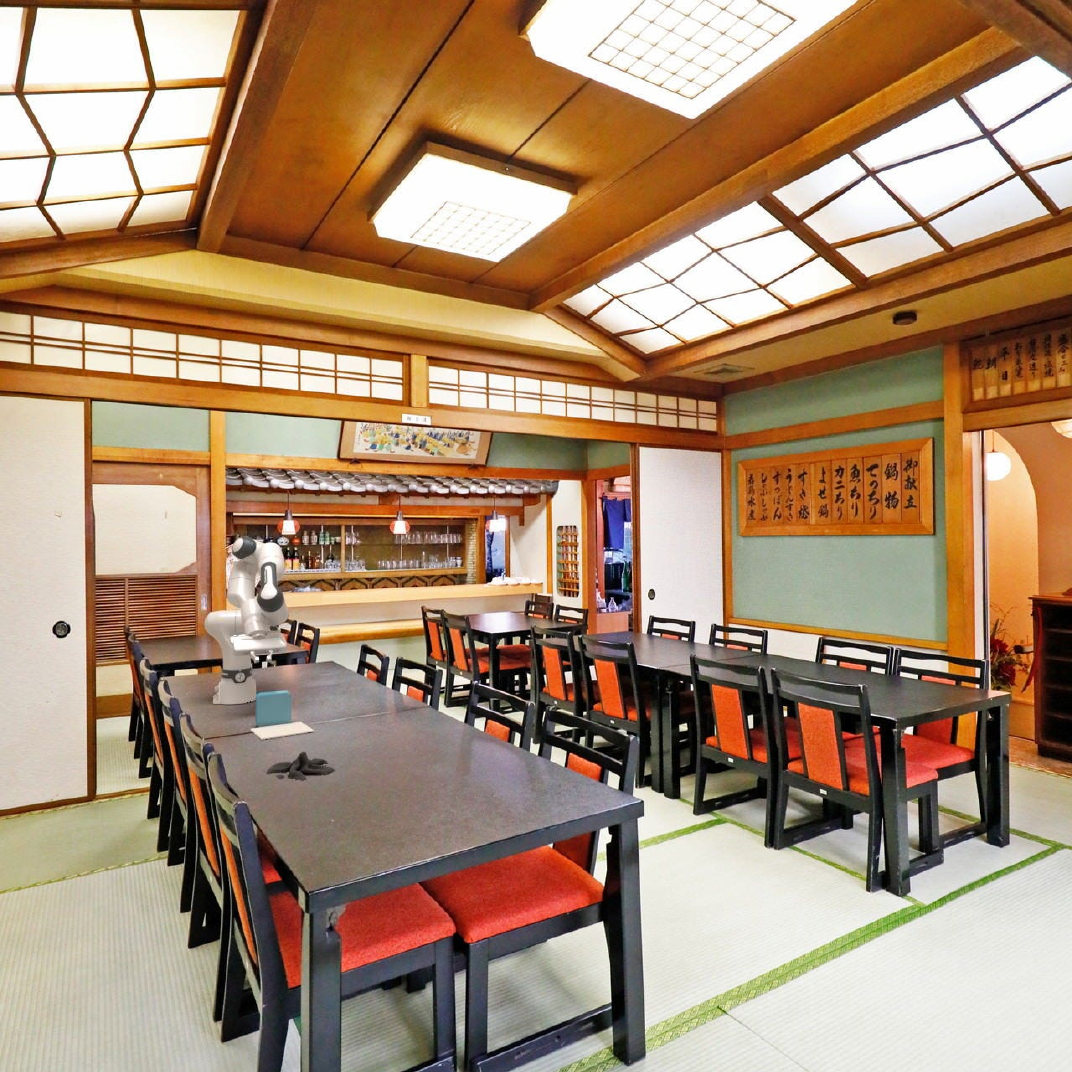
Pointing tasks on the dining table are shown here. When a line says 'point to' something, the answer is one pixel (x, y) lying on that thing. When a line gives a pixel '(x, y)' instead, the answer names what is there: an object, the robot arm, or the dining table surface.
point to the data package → (273, 708)
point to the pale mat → (281, 730)
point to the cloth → (301, 767)
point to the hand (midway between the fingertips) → (263, 661)
